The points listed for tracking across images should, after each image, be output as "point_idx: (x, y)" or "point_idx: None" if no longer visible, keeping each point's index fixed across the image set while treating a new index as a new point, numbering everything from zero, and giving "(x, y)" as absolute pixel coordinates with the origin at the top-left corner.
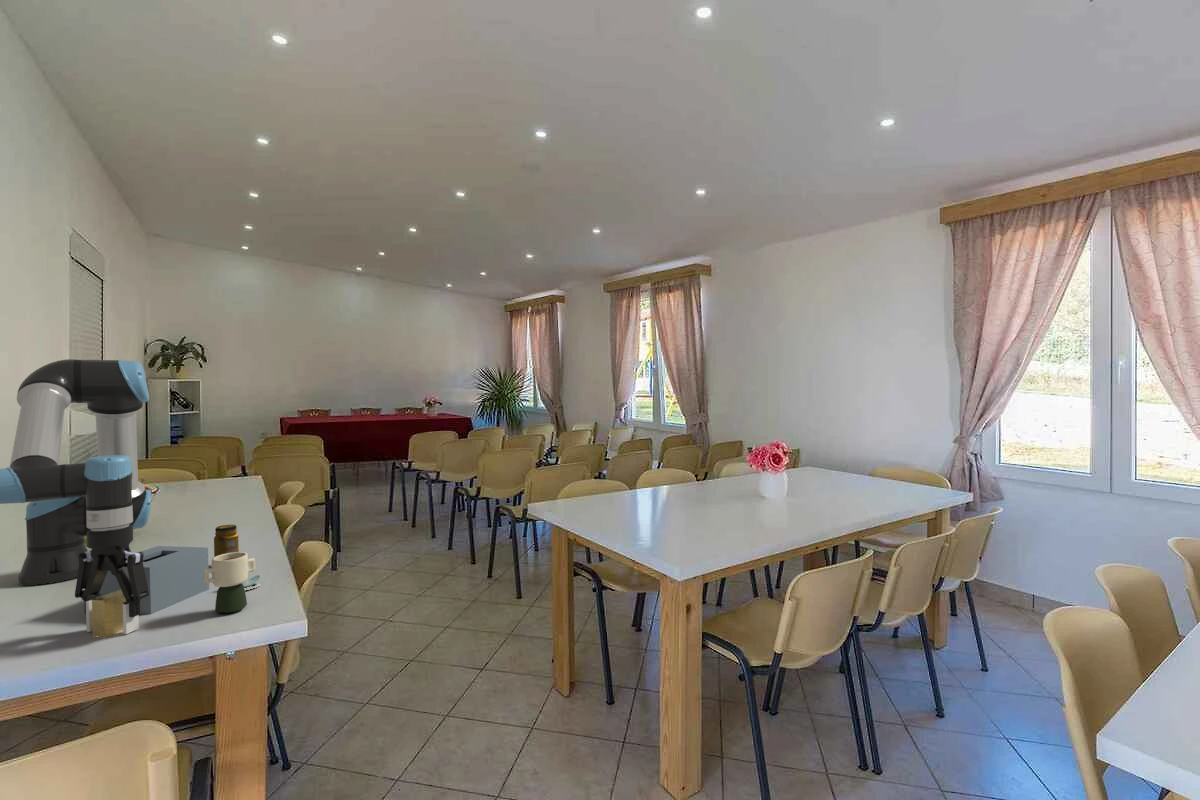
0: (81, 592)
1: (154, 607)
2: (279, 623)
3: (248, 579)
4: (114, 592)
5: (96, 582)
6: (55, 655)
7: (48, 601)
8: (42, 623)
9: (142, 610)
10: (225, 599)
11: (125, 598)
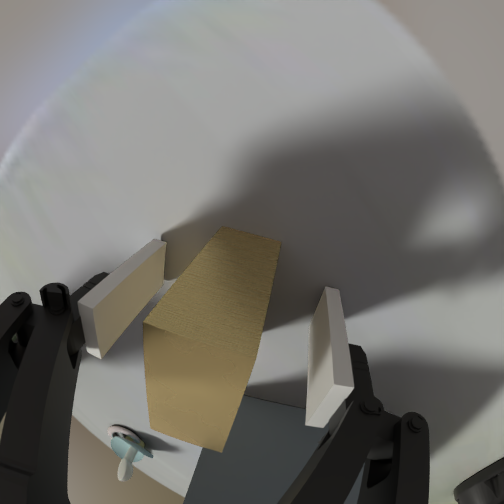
0: (394, 441)
1: None
2: None
3: (140, 459)
4: (214, 431)
5: (286, 502)
6: (296, 74)
7: (493, 434)
8: (492, 362)
9: (251, 404)
10: (15, 339)
11: (63, 322)
